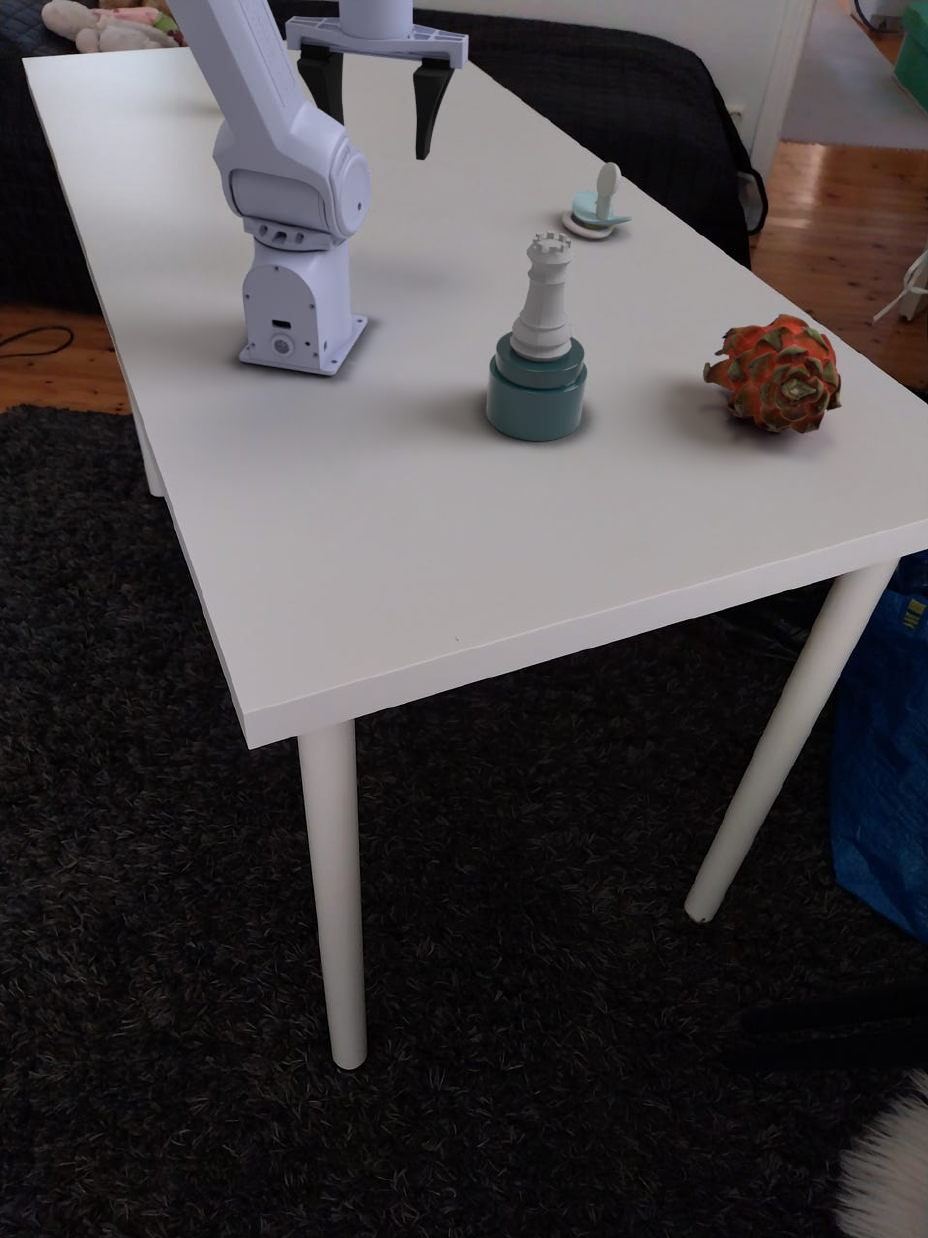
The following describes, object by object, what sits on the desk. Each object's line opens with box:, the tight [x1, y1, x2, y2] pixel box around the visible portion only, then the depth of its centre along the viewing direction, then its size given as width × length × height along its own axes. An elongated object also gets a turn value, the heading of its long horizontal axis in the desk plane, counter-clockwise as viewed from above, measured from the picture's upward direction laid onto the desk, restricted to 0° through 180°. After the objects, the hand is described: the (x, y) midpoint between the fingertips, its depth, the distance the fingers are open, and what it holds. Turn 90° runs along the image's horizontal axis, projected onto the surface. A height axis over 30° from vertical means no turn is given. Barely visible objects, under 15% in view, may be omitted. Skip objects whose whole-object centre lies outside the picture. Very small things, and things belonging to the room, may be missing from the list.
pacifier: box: [561, 161, 633, 239], centre depth 96 cm, size 7×6×6 cm
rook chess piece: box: [510, 230, 576, 362], centre depth 67 cm, size 4×4×8 cm
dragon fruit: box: [702, 313, 843, 435], centre depth 72 cm, size 8×8×12 cm
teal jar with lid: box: [485, 330, 588, 442], centre depth 71 cm, size 7×7×6 cm
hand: (379, 150), depth 83 cm, fingers open, 7 cm apart
